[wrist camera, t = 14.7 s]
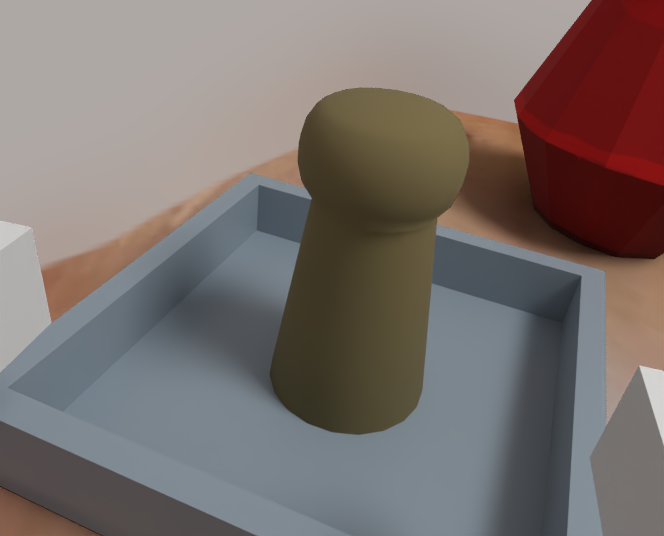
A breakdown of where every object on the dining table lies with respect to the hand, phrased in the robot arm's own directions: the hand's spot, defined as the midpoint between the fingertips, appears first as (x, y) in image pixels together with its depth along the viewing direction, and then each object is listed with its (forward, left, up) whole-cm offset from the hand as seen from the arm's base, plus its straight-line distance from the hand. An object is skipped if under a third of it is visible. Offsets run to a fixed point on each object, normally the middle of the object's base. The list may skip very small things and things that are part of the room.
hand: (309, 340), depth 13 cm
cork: (-5, -6, -8) cm, 11 cm away
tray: (-5, -6, -9) cm, 11 cm away
